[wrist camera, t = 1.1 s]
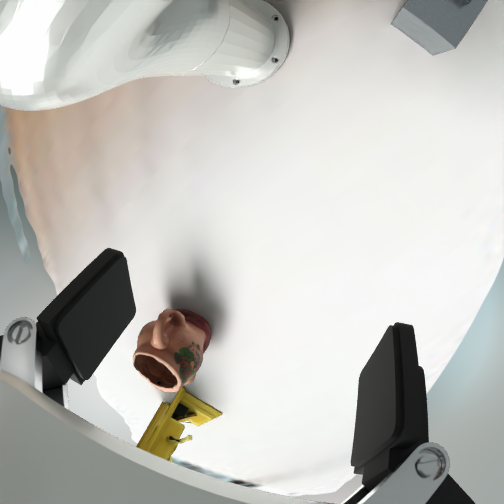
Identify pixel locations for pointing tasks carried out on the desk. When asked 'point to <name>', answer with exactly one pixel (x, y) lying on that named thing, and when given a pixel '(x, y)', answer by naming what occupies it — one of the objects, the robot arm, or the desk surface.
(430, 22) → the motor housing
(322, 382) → the desk surface
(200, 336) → the decorative planter
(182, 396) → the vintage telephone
